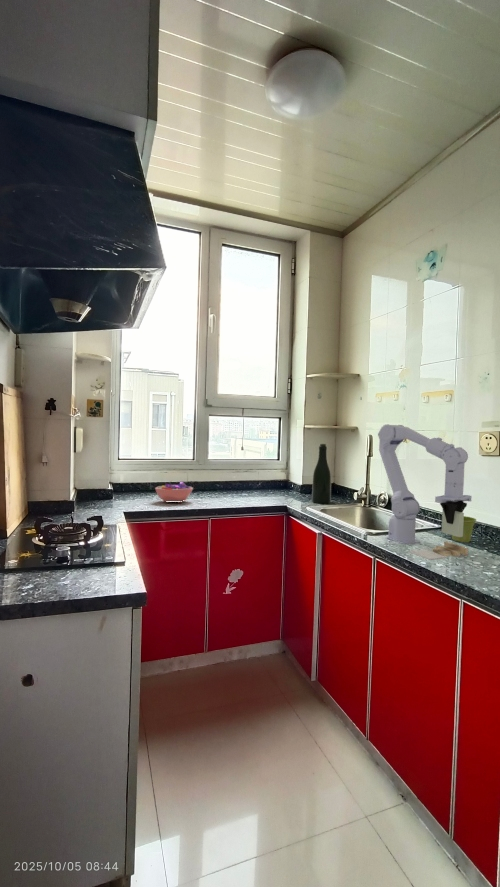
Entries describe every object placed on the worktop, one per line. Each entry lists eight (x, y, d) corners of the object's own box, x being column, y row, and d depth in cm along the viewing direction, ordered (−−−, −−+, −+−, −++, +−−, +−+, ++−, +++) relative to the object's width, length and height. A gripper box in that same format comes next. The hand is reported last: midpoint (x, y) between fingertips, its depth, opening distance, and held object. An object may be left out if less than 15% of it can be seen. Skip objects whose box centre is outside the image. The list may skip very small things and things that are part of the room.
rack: (436, 549, 148) (436, 542, 148) (446, 548, 150) (446, 541, 150) (457, 557, 140) (457, 549, 140) (467, 555, 142) (468, 548, 141)
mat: (408, 552, 144) (408, 550, 144) (424, 550, 146) (424, 549, 146) (429, 560, 135) (429, 558, 135) (445, 558, 138) (445, 556, 138)
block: (441, 532, 147) (442, 509, 147) (445, 531, 148) (446, 509, 148) (458, 537, 141) (459, 513, 141) (462, 536, 142) (463, 512, 141)
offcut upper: (432, 551, 145) (432, 548, 145) (439, 550, 146) (439, 547, 146) (443, 555, 140) (444, 552, 140) (450, 554, 141) (450, 551, 141)
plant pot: (480, 544, 157) (481, 520, 157) (455, 543, 157) (456, 520, 156) (466, 537, 166) (467, 515, 166) (443, 537, 166) (443, 515, 166)
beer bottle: (330, 501, 243) (332, 443, 242) (331, 504, 233) (333, 444, 232) (311, 500, 245) (313, 443, 244) (311, 503, 234) (313, 443, 233)
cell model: (155, 499, 234) (155, 479, 234) (192, 499, 238) (192, 479, 237) (154, 505, 217) (154, 483, 217) (193, 505, 221) (194, 483, 221)
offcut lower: (430, 554, 145) (430, 551, 145) (438, 553, 147) (438, 550, 147) (444, 559, 140) (444, 556, 140) (452, 558, 141) (453, 554, 141)
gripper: (447, 485, 137) (446, 527, 138) (480, 484, 143) (478, 524, 144) (430, 482, 144) (429, 522, 145) (462, 481, 150) (460, 519, 150)
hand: (452, 523), depth 144 cm, fingers closed on block, 2 cm apart
